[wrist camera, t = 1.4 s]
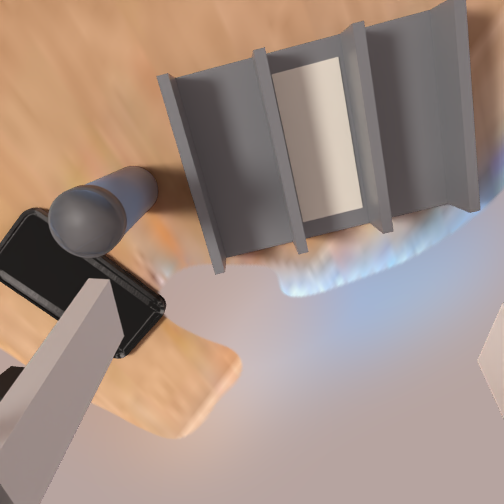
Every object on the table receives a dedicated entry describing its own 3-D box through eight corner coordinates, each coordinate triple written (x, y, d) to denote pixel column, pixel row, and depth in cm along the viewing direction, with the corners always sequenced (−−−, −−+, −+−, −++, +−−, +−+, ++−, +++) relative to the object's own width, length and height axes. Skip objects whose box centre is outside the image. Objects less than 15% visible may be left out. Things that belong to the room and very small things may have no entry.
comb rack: (163, 83, 33) (151, 77, 28) (436, 10, 31) (471, -9, 27) (214, 255, 37) (210, 275, 32) (452, 197, 36) (485, 209, 31)
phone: (120, 362, 40) (-19, 268, 36) (123, 356, 41) (-12, 264, 37) (170, 307, 38) (29, 203, 34) (172, 302, 39) (35, 200, 35)
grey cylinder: (103, 171, 35) (36, 197, 23) (150, 159, 34) (106, 179, 23) (119, 218, 36) (64, 265, 24) (165, 206, 36) (131, 248, 24)
